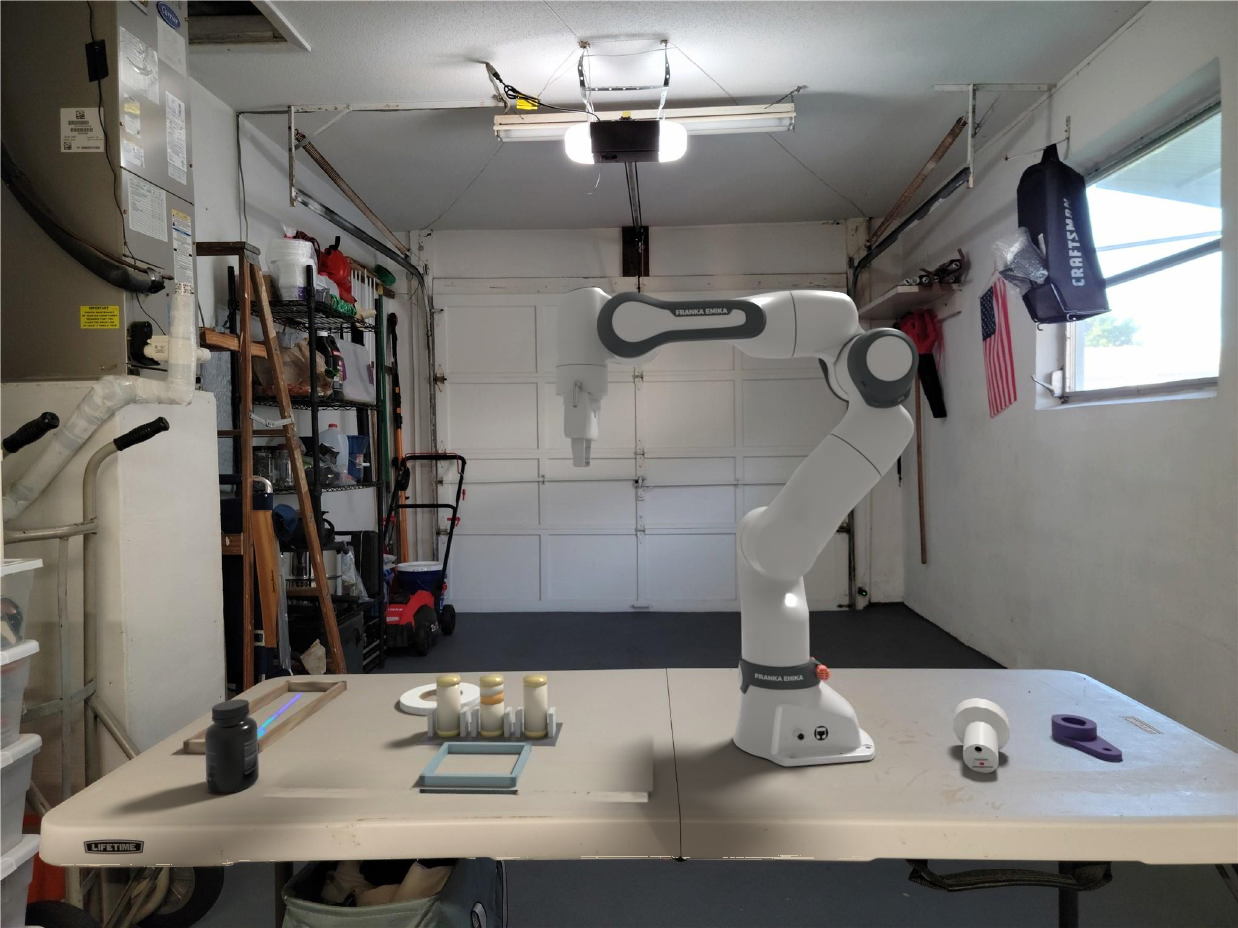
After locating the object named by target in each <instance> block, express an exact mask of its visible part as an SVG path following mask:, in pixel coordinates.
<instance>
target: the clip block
mask: <svg viewBox="0 0 1238 928" xmlns="http://www.w3.org/2000/svg"><path fill="white" fill-rule="evenodd" d="M506 707H507V708H506V709H505V710H504V734H503V735H501V736H499V737H495V738H485V737H482V736H481V735H480V706H475V707H474V708H473V710H472V711H471V710H470V709H471V707H464V709H463V710H461V712H460V734H459V735H457V736H454V737H448V738H443V737H439V736H438V735H437V706H433V707H432V708H431V709H430V711H429V712H428V713H427V714H428V716H427V731H426V732H425V733H424V735H423V736H422V737H421V738H420V739H419V740H418V742H417V743H416V744H415V746H442V745H443V744H444V743H445V742H503V743H531V747H555V746H556V744H557V741H558V739H559V735H560V733H561V730H562V728H563V725H564V722H556V721H557V717H556V716H557V714H556V711H557V710H556V706H551V707H550V708H549V710H548V712H547V719H548V734H547V735H546V736H544V737H541V738H528V737H526V736H524V706H518V707H517V709H516V710H515V713H514V715H515V716H514V717H515V719H514V721H513V718H514V717H513V706H506Z"/></svg>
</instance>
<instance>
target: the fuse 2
mask: <svg viewBox="0 0 1238 928" xmlns="http://www.w3.org/2000/svg"><path fill="white" fill-rule="evenodd" d="M522 683H523V686H522V689H523V693H522V694H523V721H524V736H526V737H528V738H541V737H544V736H546V735H547V734H548V676H546V675H545V674H540V673H538V674H537V673H533V674H528V675H525V676H524V677H523V678H522Z"/></svg>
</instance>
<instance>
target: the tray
mask: <svg viewBox="0 0 1238 928" xmlns="http://www.w3.org/2000/svg"><path fill="white" fill-rule="evenodd" d="M531 752H532V746H531V743H503V742H445V743H444V744H443V745H441V747H440V748H439V749H438V751H437V752H436V754H435V755H434V756H433V757H432V758H431V759H430V761H429V762H428V764H427V765H426V767H424V769H423V770H422V771H421V773H420V774H419V776H418V778H419V779H418V780H419V781H418V782H419V783H418V784H419V786H431V787H432V786H433V787H435V786H440V787H441V786H442V787H444V786H445V787H446V786H447V787H455V786H456V787H515V788H516V787H517V785H518V783H519V780H520V778H521V775H522V774H523V771H524V769H525V767H526V765H527V762H528V760H529V757H530V755H531ZM449 753H455V754H456V753H457V754H458V753H460V754H463V753H467V754H473V753H474V754H475V753H476V754H477V753H478V754H520V755H519V758H518V759H517V762H516V764H515V766H514V768H513V770H512V772H511V774H508V773H507V774H506V773H505V774H504V773H502V774H501V773H435V772H436V771H437V770H438V769H439V766H440V765H441V763H443V761H444V760H445V758H446V757H447V755H448V754H449ZM518 791H519V790H518V789H485V788H484V789H477V788H476V789H472V788H466V789H464V788H459V789H457V788H454V789H453V788H419V791H418V792H419V794H436V795H437V794H441V795H444V794H445V795H448V794H449V795H452V794H453V795H511V796H512V795H517V793H518Z"/></svg>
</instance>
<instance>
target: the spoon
mask: <svg viewBox="0 0 1238 928" xmlns="http://www.w3.org/2000/svg"><path fill="white" fill-rule="evenodd" d="M302 696H303V695H302V693H301V692H299V693H297V694H296V695H294V697H292V698H291V699H290V700H288V701H287V702H286V703H285V704H284V705H283V706H282V707H281V708H279V709H278V710H277V711H275V713H273V714H272V715H271V716H270V717H269V718H268V719H267V720H266V721H264V722H263V723H262V724H261V725H260V726H257V734H258V739H259V738H260V737H262V736H263V735H264V734H266V733H267V730H266V729H265V728H267V727H268V726H269V725H270V724H271V723H273V722H274V721H275V720H276V719H278V718H279V717H280V716H281V715H282V714H284V712H285V711H287V709H289V708H290V707H292V705H293V704H294V703H295V702H297V700H299V699H300V698H301V697H302Z"/></svg>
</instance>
